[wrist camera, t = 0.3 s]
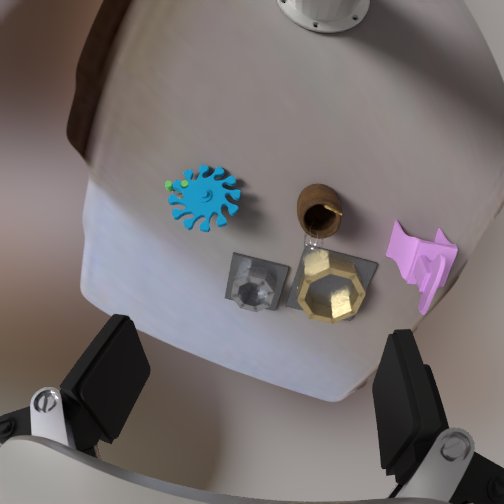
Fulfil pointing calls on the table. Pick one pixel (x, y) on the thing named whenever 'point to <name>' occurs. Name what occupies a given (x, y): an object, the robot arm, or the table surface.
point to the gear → (203, 197)
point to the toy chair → (422, 262)
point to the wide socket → (330, 284)
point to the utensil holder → (319, 212)
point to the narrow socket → (255, 282)
